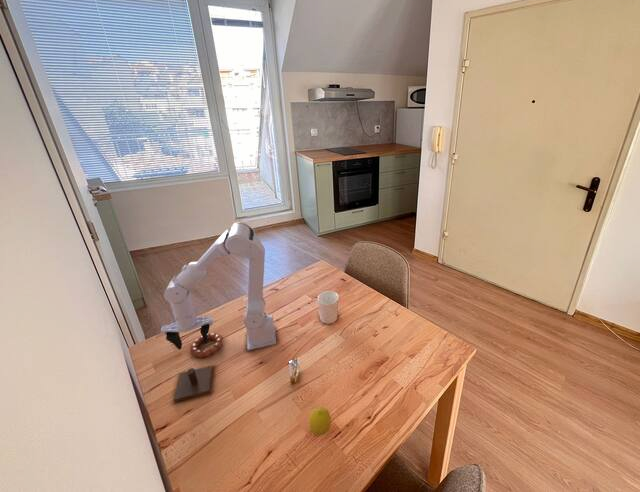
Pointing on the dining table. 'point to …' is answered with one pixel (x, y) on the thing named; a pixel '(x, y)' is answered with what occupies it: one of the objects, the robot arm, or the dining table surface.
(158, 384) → the dining table surface
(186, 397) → the stand
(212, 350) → the hoop
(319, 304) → the white cup
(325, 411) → the lemon
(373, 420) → the dining table surface
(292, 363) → the ring
